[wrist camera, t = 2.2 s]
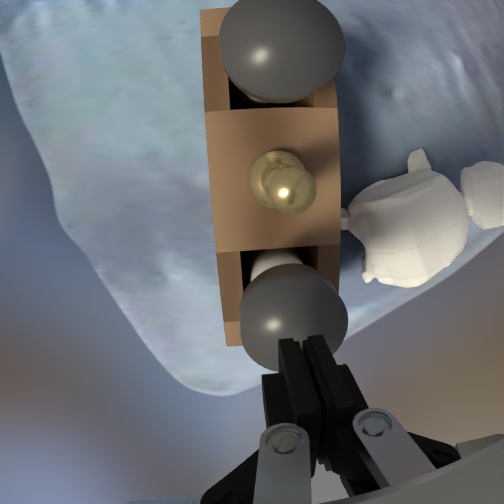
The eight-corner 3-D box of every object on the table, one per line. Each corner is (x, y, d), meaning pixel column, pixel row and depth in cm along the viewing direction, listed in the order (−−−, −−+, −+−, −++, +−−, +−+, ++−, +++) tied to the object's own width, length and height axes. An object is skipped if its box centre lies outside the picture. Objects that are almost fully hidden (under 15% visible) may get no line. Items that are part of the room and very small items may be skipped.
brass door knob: (303, 149, 16) (330, 150, 11) (305, 205, 17) (332, 227, 12) (246, 152, 16) (250, 152, 11) (249, 208, 17) (255, 232, 12)
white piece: (368, 260, 30) (500, 209, 23) (370, 314, 23) (539, 250, 16) (333, 183, 28) (477, 125, 21) (327, 217, 21) (521, 140, 14)
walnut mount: (300, 47, 21) (327, 8, 13) (310, 286, 27) (335, 336, 20) (210, 50, 21) (200, 10, 13) (228, 292, 27) (226, 346, 19)
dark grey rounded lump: (307, 225, 21) (351, 275, 13) (307, 289, 23) (343, 365, 14) (235, 229, 21) (235, 284, 13) (241, 295, 23) (244, 376, 14)
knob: (297, 50, 18) (337, -7, 9) (302, 118, 19) (350, 97, 11) (224, 52, 18) (216, -10, 9) (228, 121, 19) (222, 98, 11)
